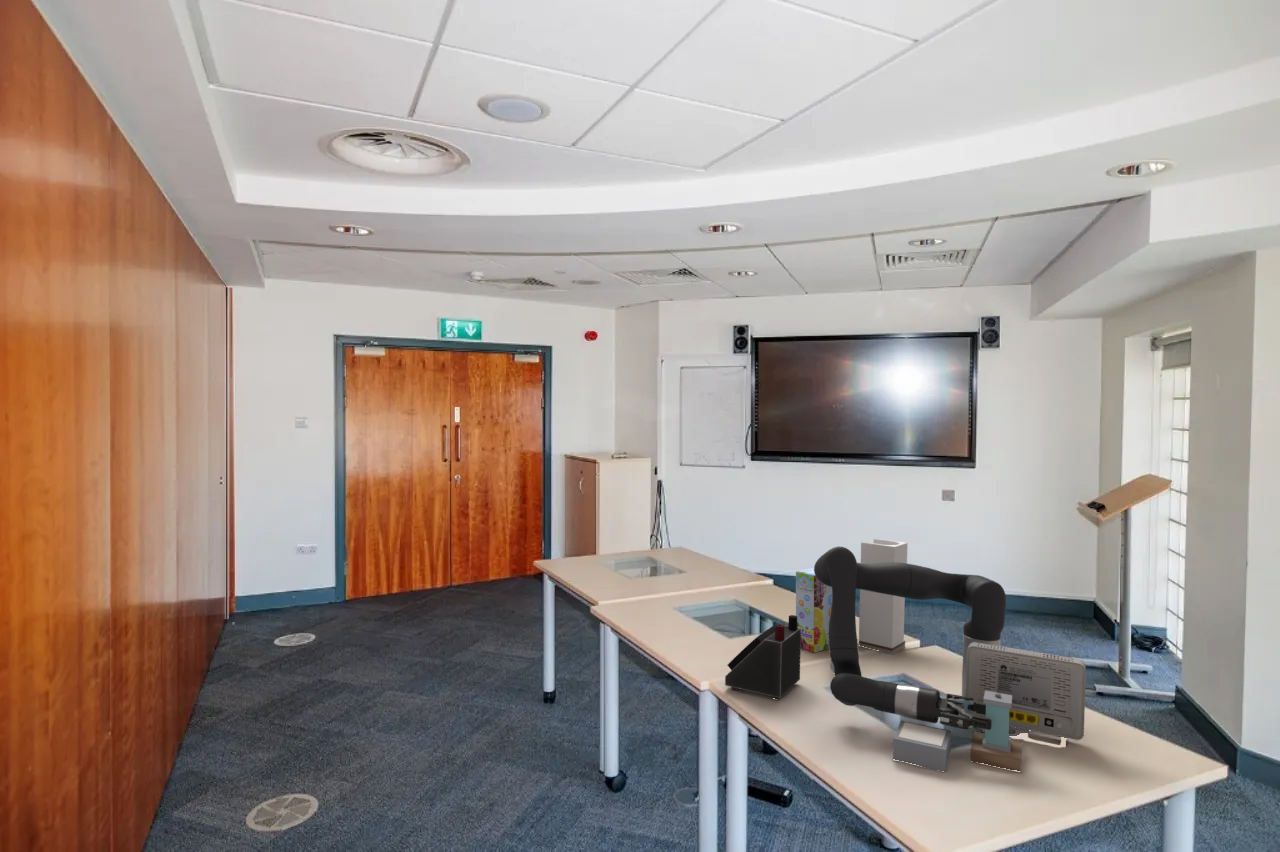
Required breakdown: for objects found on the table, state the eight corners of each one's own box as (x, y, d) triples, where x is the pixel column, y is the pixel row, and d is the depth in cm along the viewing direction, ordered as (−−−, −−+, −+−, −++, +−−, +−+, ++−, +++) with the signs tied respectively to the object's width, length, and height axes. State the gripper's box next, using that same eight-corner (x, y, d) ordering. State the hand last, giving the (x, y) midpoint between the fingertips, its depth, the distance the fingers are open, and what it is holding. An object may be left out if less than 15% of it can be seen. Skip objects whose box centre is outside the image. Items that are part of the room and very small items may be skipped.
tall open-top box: (904, 647, 243) (907, 542, 243) (891, 654, 236) (894, 546, 235) (872, 639, 251) (874, 538, 250) (858, 646, 243) (861, 542, 242)
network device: (1083, 739, 176) (1085, 657, 175) (1083, 753, 168) (1086, 668, 168) (967, 715, 189) (969, 638, 188) (963, 727, 181) (965, 648, 181)
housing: (983, 737, 169) (985, 687, 169) (1010, 743, 166) (1012, 692, 166) (982, 747, 164) (983, 695, 164) (1010, 753, 161) (1011, 701, 161)
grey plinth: (900, 741, 173) (901, 719, 173) (950, 752, 168) (951, 729, 167) (892, 760, 163) (893, 737, 163) (945, 772, 158) (946, 749, 158)
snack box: (833, 635, 255) (835, 562, 255) (854, 641, 248) (856, 566, 248) (793, 646, 242) (794, 569, 241) (814, 653, 235) (816, 574, 234)
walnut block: (973, 744, 172) (974, 731, 172) (1021, 754, 167) (1021, 741, 167) (970, 761, 163) (970, 748, 163) (1020, 773, 158) (1021, 759, 158)
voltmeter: (746, 672, 217) (747, 606, 216) (799, 684, 208) (801, 614, 208) (724, 690, 203) (725, 618, 203) (780, 703, 195) (781, 628, 194)
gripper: (913, 697, 167) (991, 712, 159) (921, 677, 179) (994, 691, 172) (912, 729, 167) (990, 746, 159) (921, 708, 180) (994, 722, 172)
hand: (992, 717), depth 165 cm, fingers open, 8 cm apart
